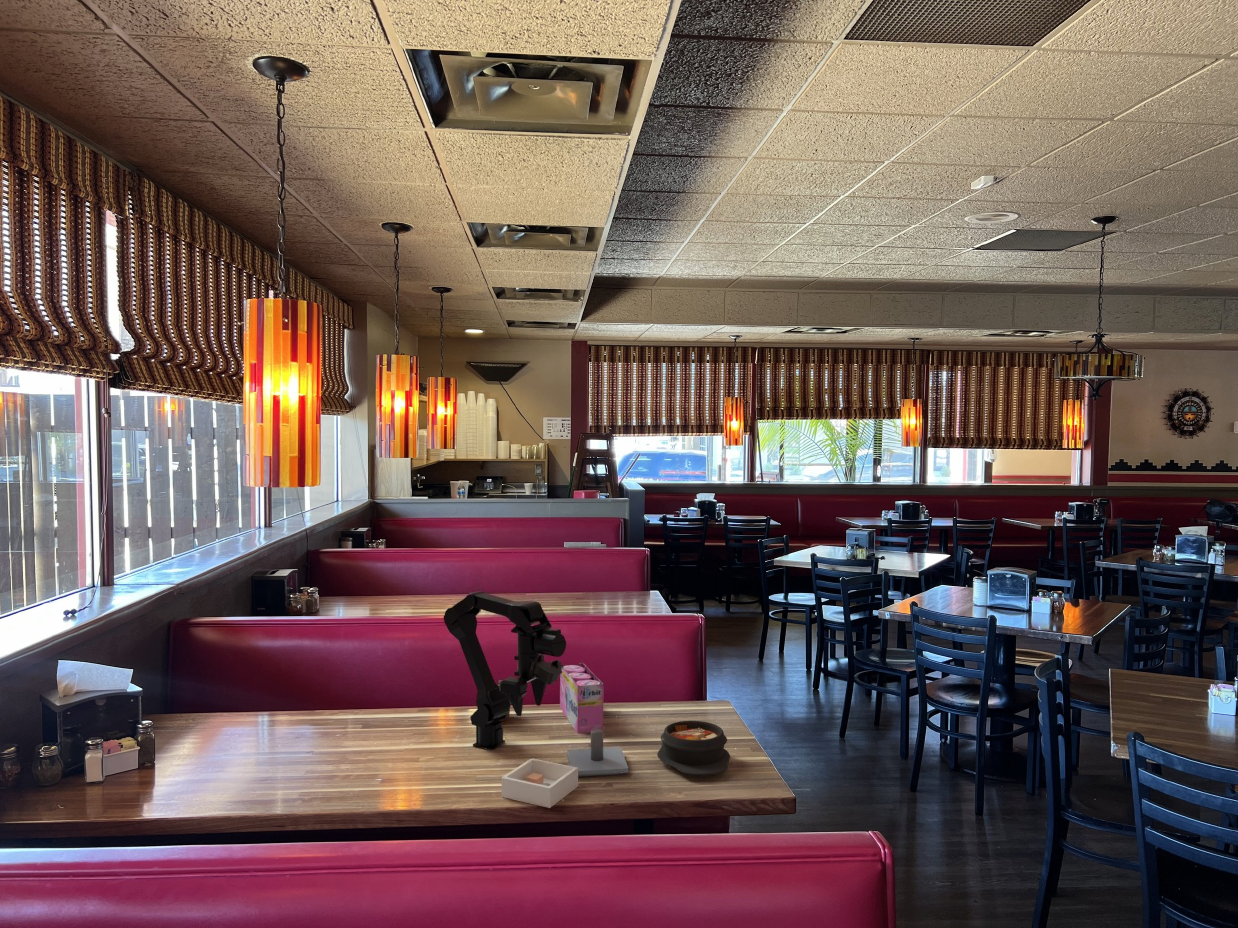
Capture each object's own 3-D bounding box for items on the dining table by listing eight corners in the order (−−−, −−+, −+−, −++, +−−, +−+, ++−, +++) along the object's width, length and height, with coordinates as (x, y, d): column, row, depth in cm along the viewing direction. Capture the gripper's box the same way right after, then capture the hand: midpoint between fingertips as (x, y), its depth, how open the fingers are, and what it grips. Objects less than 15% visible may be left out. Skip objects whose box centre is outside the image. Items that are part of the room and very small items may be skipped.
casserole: (647, 746, 226) (647, 715, 225) (713, 742, 229) (713, 711, 229) (670, 785, 201) (670, 750, 201) (744, 779, 205) (744, 745, 204)
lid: (571, 779, 204) (571, 742, 204) (567, 757, 218) (567, 722, 218) (628, 776, 206) (628, 739, 206) (620, 754, 220) (620, 720, 220)
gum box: (558, 706, 258) (558, 663, 258) (583, 704, 260) (583, 661, 260) (577, 733, 235) (577, 685, 235) (604, 730, 238) (604, 683, 237)
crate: (501, 796, 194) (501, 777, 194) (531, 776, 206) (531, 757, 206) (549, 807, 188) (549, 788, 188) (578, 786, 200) (578, 767, 200)
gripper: (535, 663, 206) (536, 726, 206) (573, 646, 222) (573, 704, 223) (498, 658, 211) (498, 719, 211) (537, 641, 227) (537, 698, 228)
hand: (529, 710), depth 218 cm, fingers open, 9 cm apart
